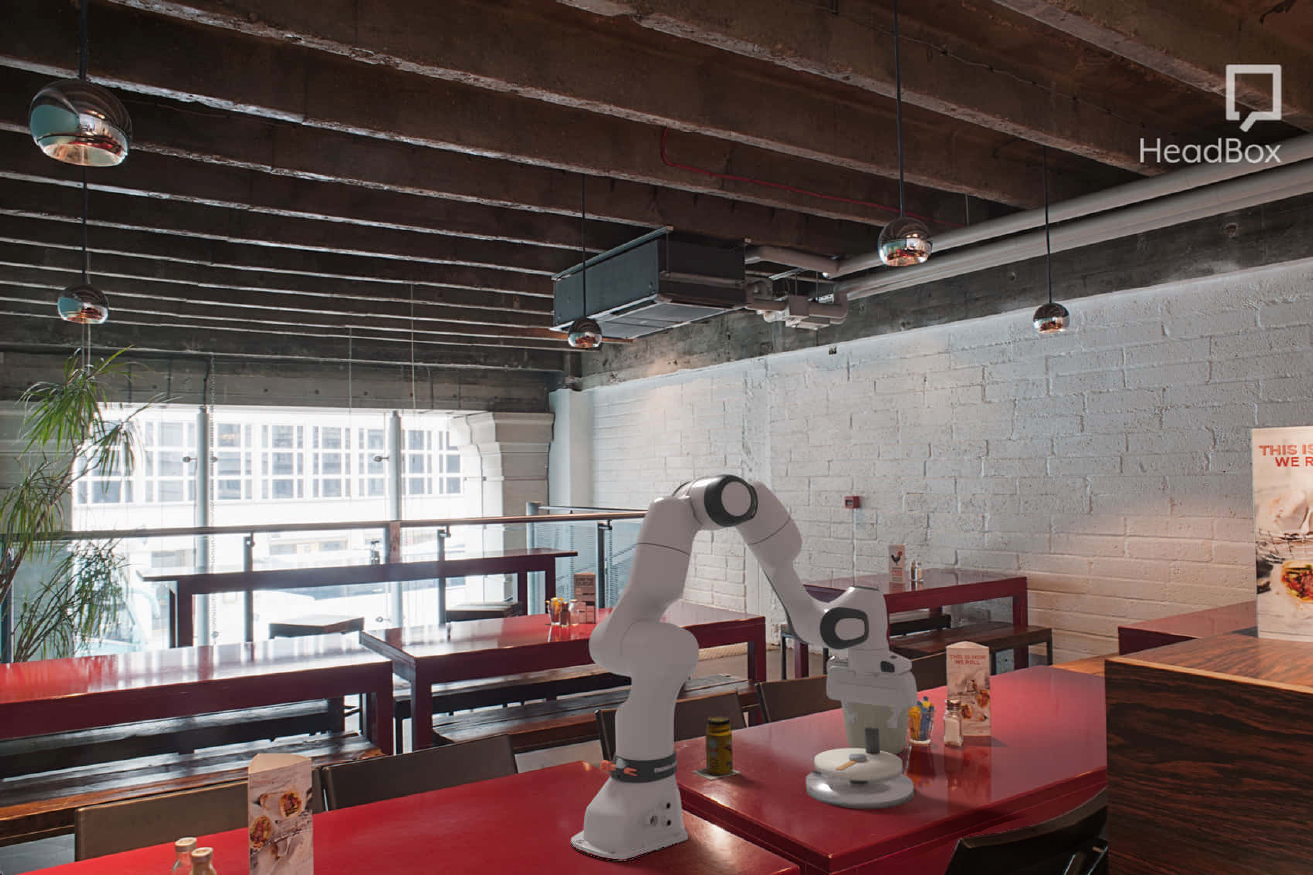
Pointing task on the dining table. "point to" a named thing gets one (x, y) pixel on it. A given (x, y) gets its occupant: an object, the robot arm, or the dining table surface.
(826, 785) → the disc
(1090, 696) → the dining table surface
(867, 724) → the canister
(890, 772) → the handwheel
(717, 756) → the condiment
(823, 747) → the dining table surface
